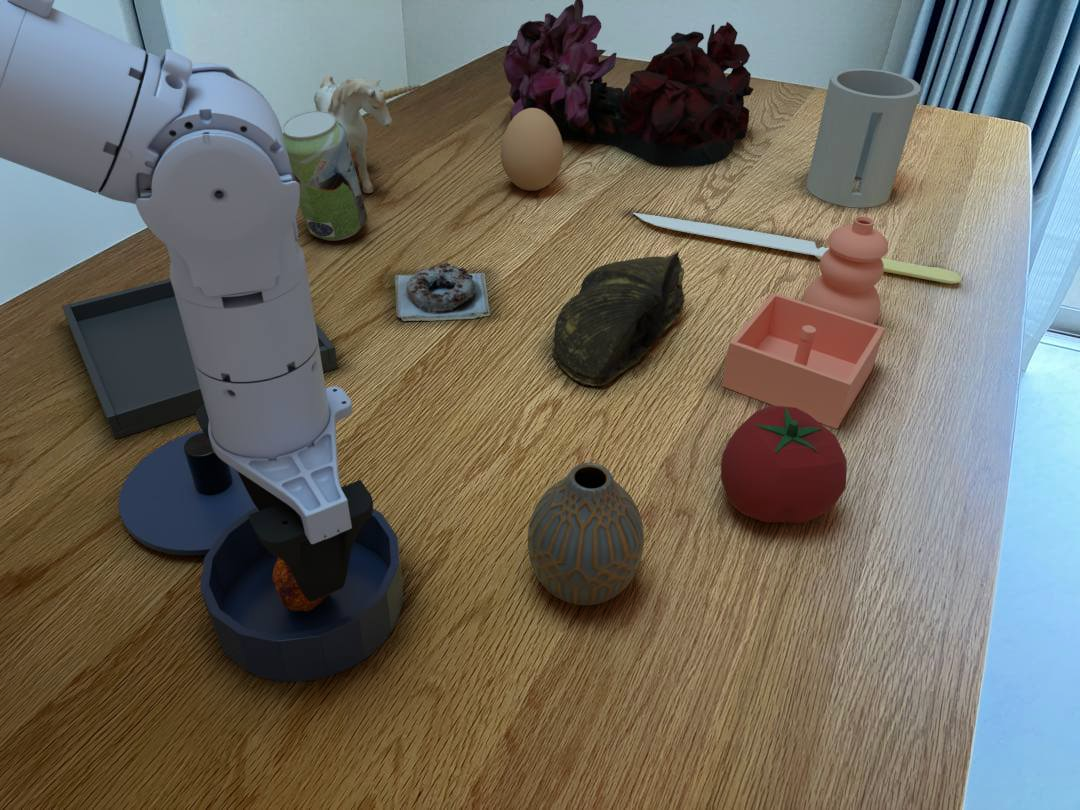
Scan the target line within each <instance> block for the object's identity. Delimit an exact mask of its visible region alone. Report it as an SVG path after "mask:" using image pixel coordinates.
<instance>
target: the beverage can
mask: <svg viewBox="0 0 1080 810" xmlns="http://www.w3.org/2000/svg"><path fill="white" fill-rule="evenodd" d="M282 133H283V137H284V141H285V145H286V149H287V153H288V157H289V161H290V165H291V169H292V173H293V177H294V181H296V182H297V183H298V184H299V186H300V201H299V207H300V209H301V212H302V216H303V218H304V222H305V225H306V228H307V230H308V232H309V234H310V235H312V236H313V237H314V238H317V239H322V240H324V241H328V242H336V241H337V242H338V241H342V240H346V239H348V238H351V237H353V236H354V235H356V234H357V233H358V232H359V231H360V230H361V229H362V228H363V227H364V226H365V225H366V223H367V220H368V214H367V210H366V206H365V201H364V198H363V194H362V191H361V187H360V184H359V179H358V175H357V172H356V167H355V164H354V161H353V156H352V152H351V147H350V148H349V144H348V140H347V136H346V133H345V130H344V128H343V126H342V125H341V124H340V123H338V122H337V121H336V118H335V117H334V115H332V114H331V113H329V112H325V111H317V110H310V111H305V112H301V113H298V114H296V115H294V116H292V117H290V118H289V119H287V120H286V121H285V122H284V123H283V125H282Z"/></svg>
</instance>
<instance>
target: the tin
mask: <svg viewBox="0 0 1080 810" xmlns="http://www.w3.org/2000/svg"><path fill="white" fill-rule="evenodd" d="M258 511H259V510H258V509H257V508H254V509H252V510H250V511H249V512H247V513H246V514H245V515H243V516H242V517H241V518H239V519H238V520H237V521H235V522H234V523H232V524H231V525H230V526H228V527H227V528H226V529H224V530H223V531H222V533H221V534H220V536H219V537H218V539H217V540H216V542H215V543H214V545H213V546H212V548H211V549H210V550H209V552H208V553H207V554H205V555H204V559H203V565H202V571H201V577H200V584H199V589H200V592H201V595H202V598H203V602H204V604H205V607H206V610H207V613H208V616H209V620H210V622H211V625H212V628H213V630H214V632H215V635H216V637H217V640H218V642H219V645H220V647H221V649H222V652H223V653H224V654H225V655H226V656H227V658H229V659H230V660H231V661H232V662H233V663H234V664H235V665H236V666H238V667H239V668H240V669H242V670H244V671H246V672H247V673H249V674H251V675H253V676H256V677H259V678H262V679H266V680H269V681H275V682H282V683H301V682H311V681H316V680H321V679H325V678H328V677H332V676H336V675H338V674H340V673H342V672H344V671H347V670H349V669H351V668H353V667H354V666H356V665H358V664H359V663H361V662H363V661H364V660H365V659H367V658H369V657H370V656H371V655H372V654H373V653H374V652H376V651H377V650H378V649H379V648H380V647H381V645H382V644H384V643H385V641H386V640H387V639H388V637H389V636H390V635H391V633H392V631H393V630H394V628H395V627H396V625H397V623H398V621H399V618H400V615H401V612H402V608H403V605H404V601H405V600H404V586H403V585H404V584H403V572H402V564H401V556H400V555H401V554H400V548H399V547H400V546H399V538H398V535H397V534H396V532H395V530H394V529H393V528H392V526H391V525H390V523H389V521H388V520H387V519H386V517H385V516H384V515H383V513H382V512H381V511H378V510H377V509H375V508H373V514H372V515H371V517H370V518H369V519H368V520H367V522H366V523H365V524H364V526H363V527H362V528H361V530H360V532H359V533H358V535H357V537H356V539H355V542H354V544H353V548H352V551H351V555H350V560H349V566H348V571H347V576H346V581H345V585H344V587H343V588H341V589H339V590H337V591H335V592H332V593H331V594H330V595H328V596H327V597H326V598H325V599H323V600H322V602H321V603H320V604H319V605H317V606H315V608H313V609H312V610H310V611H307V612H306V611H301V610H299V611H298V612H297V611H295V612H293V611H291V610H290V609H288V608H286V606H284V605H282V601H281V599H280V595H279V593H278V591H277V590H276V589H275V584H274V582H273V580H272V578H273V577H272V576H273V571H274V566H275V564H276V561H278V557H276V556H274V555H272V554H271V553H270V552H269V551H268V550H267V549H266V548H265V547H264V546H263V544H262V543H261V541H260V540H259V538H258V536H257V534H256V532H255V530H254V528H253V526H252V524H251V522H250V520H249V515H250V514H253V513H255V512H258Z"/></svg>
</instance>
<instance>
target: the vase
mask: <svg viewBox="0 0 1080 810" xmlns="http://www.w3.org/2000/svg"><path fill="white" fill-rule="evenodd" d="M612 475H613V474H612V473H611V472H610V470H609V469H608V468H607V467H606V466H604V465H602V464H599V463H596V462H582V463H579V464H576V465H575V466H574V467H573V468H572V469H570V470H569V473H568V474H567V475H566V476H564V477H563V478H561V479H560V480H559V481H557V482H556V483H554V484H552V485H551V486H550V487H549V488H548V489H547V490H546V491H545V492H544V493H543V494H542V495H541V497H540V498H539V500H538V501H537V503H536V505H535V507H534V509H533V512H532V514H531V517H530V521H529V524H528V530H527V549H528V550H527V551H528V557H529V562H530V564H531V567H532V570H533V572H534V574H535V576H536V578H537V579H538V581H539V582H540V584H541V585H542V586H543V587H544V589H545V590H547V591H548V592H549V593H550V594H552V595H553V596H554V597H556V598H557V599H559V600H561V601H563V602H566V603H568V604H572V605H578V606H595V605H598V604H602V603H606V602H607V601H609V600H611V599H614V598H615V597H617V596H618V595H619V594H621V593H622V592H623V591H624V590H625V589H626V588H627V587H628V586H629V585H630V583H631V582H632V580H633V579H634V577H635V575H636V573H637V571H638V569H639V567H640V564H641V560H642V558H643V557H642V556H643V553H644V545H645V544H644V543H645V535H644V534H645V533H644V531H645V530H644V525H643V521H642V517H641V514H640V511H639V509H638V507H637V504H636V503H635V500H634V499H633V498H632V496H631V495H630V494H629V492H627V490H626V489H625V488H623V486H621V485H620V484H619V483H618V482H617V481H616V480H615V479H614V478H613V476H612Z"/></svg>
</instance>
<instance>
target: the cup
mask: <svg viewBox="0 0 1080 810" xmlns="http://www.w3.org/2000/svg"><path fill="white" fill-rule="evenodd" d="M921 91H922V87H921V85H920V83H918V82H917V81H916V80H915V79H913V78H910V77H908V76H905V75H903V74H900V73H897V72H894V71H893V72H892V71H889V70H883V69H876V68H863V67H862V68H859V67H858V68H857V67H856V68H846V69H840V70H838V71H835V72H833V73H832V74H831V75H830V78H829V81H828V85H827V91H826V95H825V99H824V105H823V108H822V113H821V117H820V122H819V127H818V130H817V135H816V140H815V144H814V147H813V154H812V157H811V161H810V166H809V170H808V175H807V178H806V179H807V180H806V183H805V185H806V188H807V190H808V192H809V193H810V194H812V195H813V196H814V197H816V198H818V199H819V200H822V201H823V202H826V203H829V204H833V205H837V206H839V207H840V206H841V207H848V208H859V209H862V208H873V207H878V206H882V205H883V204H885V203H886V202H888V201H889V200H890V197H891V194H892V189H893V186H894V183H895V180H896V177H897V173H898V170H899V167H900V163H901V160H902V157H903V156H902V155H903V153H904V149H905V145H906V142H907V139H908V135H909V133H910V128H911V125H912V121H913V118H914V113H915V111H916V108H917V104H918V101H919V97H920V94H921ZM856 178H858V179H860V184H859V187H858V191H853V186H854V182H855V179H856Z"/></svg>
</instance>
